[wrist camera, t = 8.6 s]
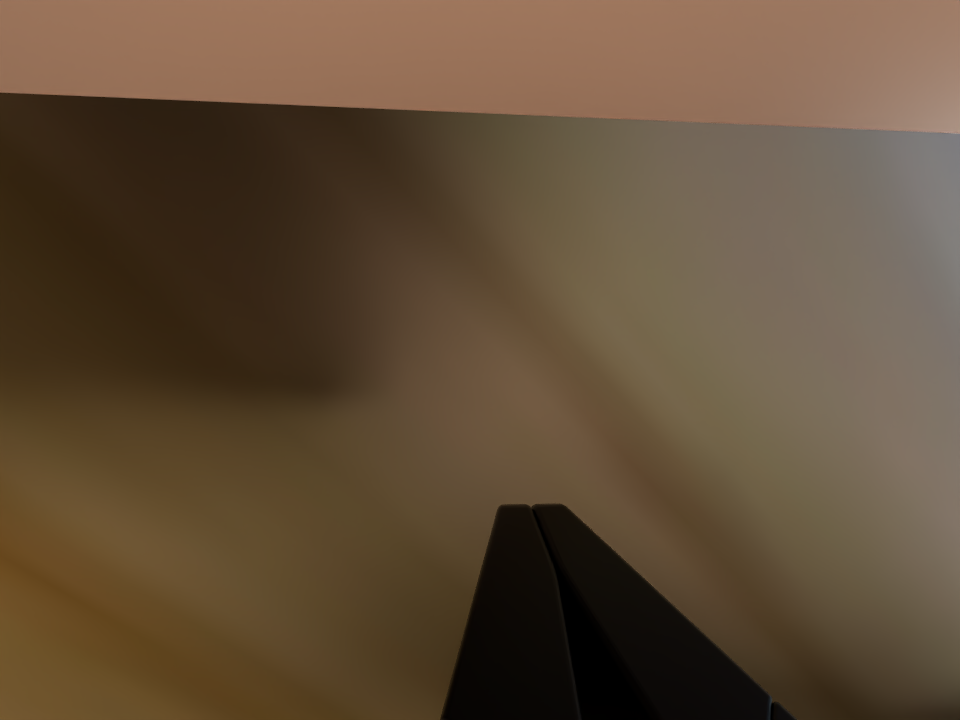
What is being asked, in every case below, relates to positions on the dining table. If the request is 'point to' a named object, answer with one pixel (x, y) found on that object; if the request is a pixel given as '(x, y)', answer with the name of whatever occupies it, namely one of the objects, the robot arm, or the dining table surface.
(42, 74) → the tray
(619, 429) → the dining table surface
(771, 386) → the dining table surface
